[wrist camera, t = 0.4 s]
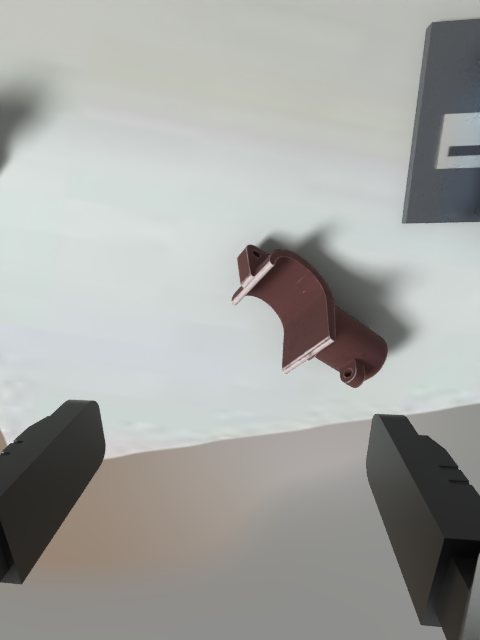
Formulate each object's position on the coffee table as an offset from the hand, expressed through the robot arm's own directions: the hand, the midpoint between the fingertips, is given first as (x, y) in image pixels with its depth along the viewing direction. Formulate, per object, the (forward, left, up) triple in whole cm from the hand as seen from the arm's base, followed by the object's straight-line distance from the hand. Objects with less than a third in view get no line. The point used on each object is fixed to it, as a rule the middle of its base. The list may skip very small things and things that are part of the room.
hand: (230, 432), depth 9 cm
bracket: (+4, +5, -28) cm, 29 cm away
